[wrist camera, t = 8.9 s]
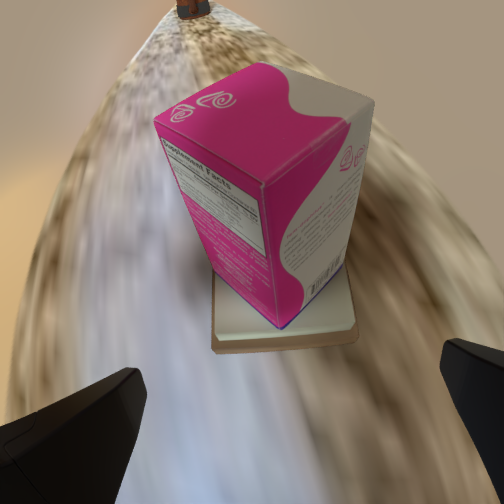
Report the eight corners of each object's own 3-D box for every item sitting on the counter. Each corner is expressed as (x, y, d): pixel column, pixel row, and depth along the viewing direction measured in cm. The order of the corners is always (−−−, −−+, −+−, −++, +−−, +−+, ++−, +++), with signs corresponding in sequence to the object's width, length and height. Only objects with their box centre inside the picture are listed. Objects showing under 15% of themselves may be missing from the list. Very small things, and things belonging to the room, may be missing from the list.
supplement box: (274, 215, 21) (262, 55, 12) (344, 267, 19) (387, 102, 9) (210, 271, 19) (147, 113, 10) (279, 335, 17) (272, 190, 7)
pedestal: (354, 342, 19) (365, 328, 17) (216, 354, 20) (206, 342, 17) (333, 229, 24) (338, 204, 21) (217, 239, 24) (209, 215, 22)
